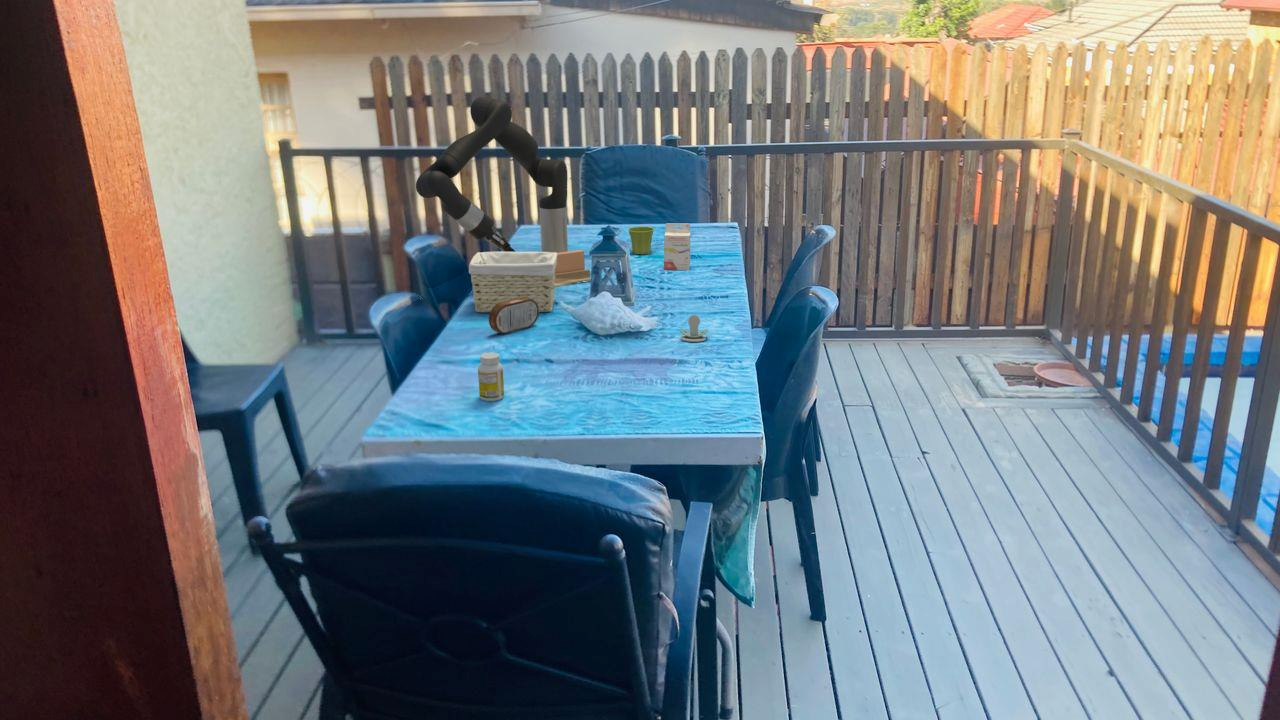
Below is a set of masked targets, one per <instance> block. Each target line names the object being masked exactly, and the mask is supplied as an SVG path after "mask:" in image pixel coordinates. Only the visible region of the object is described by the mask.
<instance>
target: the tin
mask: <svg viewBox="0 0 1280 720" xmlns="http://www.w3.org/2000/svg"><path fill="white" fill-rule="evenodd" d="M539 313H540V312H539V308H538V304H537V303H536V302H535V301H534V300H532V299H530V298H528V297H520V298H516V299H511V300H507V301H502V302H499V303H497V304H496V305H495V306H494V307H493V308H492V310H491V312H489V315H488V324H489V326H490V329H491V330H493V331H494V332H496V333H499V334H503V335H505V334H506V335H507V334H510V333H514V332H518V331H522V330H526V329H530V328H531V327H533V325H535V323H536V322H537V320H538V319H539Z"/></svg>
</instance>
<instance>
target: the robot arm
mask: <svg viewBox="0 0 1280 720" xmlns="http://www.w3.org/2000/svg"><path fill="white" fill-rule="evenodd" d="M469 111H470V117H471V119H472V122H473V123H474V124H475V125H476V126H477V127H478V128H477V129H475V130H473V131H471V132H470V133H468V134H466V135H464V136H462V137H460V138H458V139H457V140H455V141H453V142H452V143H451V144H450V145H449V146H448V147H447V148H446V149H445V150H444V151H443V153H442V154H440V156H439V158H438V159H437V160H436V161H434V162H433V163H431V164H430V166H428V167H427V168H426V169H425V170H424V171H423V172H422V173H420V175H419V176H418V177H417V179H416V182H415V189H416V192H417V194H418V195H419V196H420V197H422V198H425V199H432V198H435V197H437V198H439V200H440V201H441V202H442V203H441V206H442V207H441V208H442V209H443V211H444V212H446V214H448V216H449V217H451V218H452V219H454V221H456V222H457V224H458V225H460V226H461V228H463V230H464V231H466V232H467V233H468V234H470V235H471V236H472V237H473V238H474V239H476V240H482V239H484V240H485V241H486V242H487V243H490V244H491V245H493V246H494V247H496V248H497V249H500V251H501V252H517V251H515V249H513V248H512V247H511V244H510V243H509V242H508V240H506V238H505V237H503V236H502V234H501V233H500V232H499V231H498V230H496V229H495V228H493V227H494V224H495V223H494V220H493V219H492V218H491V217H490V216H489V215H487V213H485V211H483V210H482V209H481V208H480V207H479V206H478V205H476V204H474V202H471V200H469V199H468V198H467V197H466V196H465V195H464V194H462V192H461V191H460V190H459V189H458V187H457V186H456V184H455V183H454V181H453V180H452V179H453V178H455V177H456V176H458V174H459V173H460V172H461V171H462V170H463V169H464V168H465V167H466V166H467V164H468V163H469V162H470V161H471V159H473V157H474V156H475V155H476V154H477V153H479V152H480V151H481V150H483V148H485V146H487V145H489V144H490V142H492V141H493V140H495V141H496V143H498V144H499V145H500V146H501V147H502V149H504V150H505V151H506V152H507V153H508V155H510V156H511V157H512V158H513V159H514V161H517V162H518V164H519V165H520V166H521V167H522V169H524V170H525V171H526V173H527V174H528V175H529V176H530V178H531V179H532V180H533V182H534V183H535V184H536V185H538V186H539V187H543V188H551V189H552V190H551V191H552V192H551V193H550V194H549V195H547V196H544V197H541V198H540V199H539V201H538V202H539V203H538V204H539V224H540V227H539V228H540V246H541V250H540V251H541V252H552V253H554V252H556V253H560V252H568V251H569V243H568V242H569V241H568V215H567V214H568V213H567V212H568V210H567V200H568V167H567V163H565V161H564V160H561V159H546V158H545V159H544V158H542V157H539V156H538V153H539V145H538V142H537V140H536V139H535V138H534V136H532V135H531V134H530V132H529V131H528V130H527V129H525V128H523V127H522V126H520V125H519V124H517V123H515V122H513V121H512V117H513V110H512V107H511V105H510V103H508V102H506V101H504V100H501V99H498V98H493V97H490V96H480V97H479V96H478V97H477V98H476V99H474V100H473V101H472V103H471V105H470V110H469Z"/></svg>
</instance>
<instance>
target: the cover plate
mask: <svg viewBox="0 0 1280 720" xmlns="http://www.w3.org/2000/svg"><path fill="white" fill-rule="evenodd" d="M585 268H586V263H585V250H582V249H576V250H571V251H570V250H568V252H560V253H557V264H556V268H555V274H559V273H566V272H573V271H580V270H586V269H585Z"/></svg>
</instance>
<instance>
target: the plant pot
mask: <svg viewBox="0 0 1280 720" xmlns="http://www.w3.org/2000/svg"><path fill="white" fill-rule="evenodd" d="M654 231H655V228H654V227H652V226H634V227H629V228H627V232H628V233H629V234H628V235H630V243H631V249H632V254H634V255H636V254H641V256H642V255H649V254H651V248H652V240H653V239H652V238H653V235H654Z"/></svg>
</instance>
